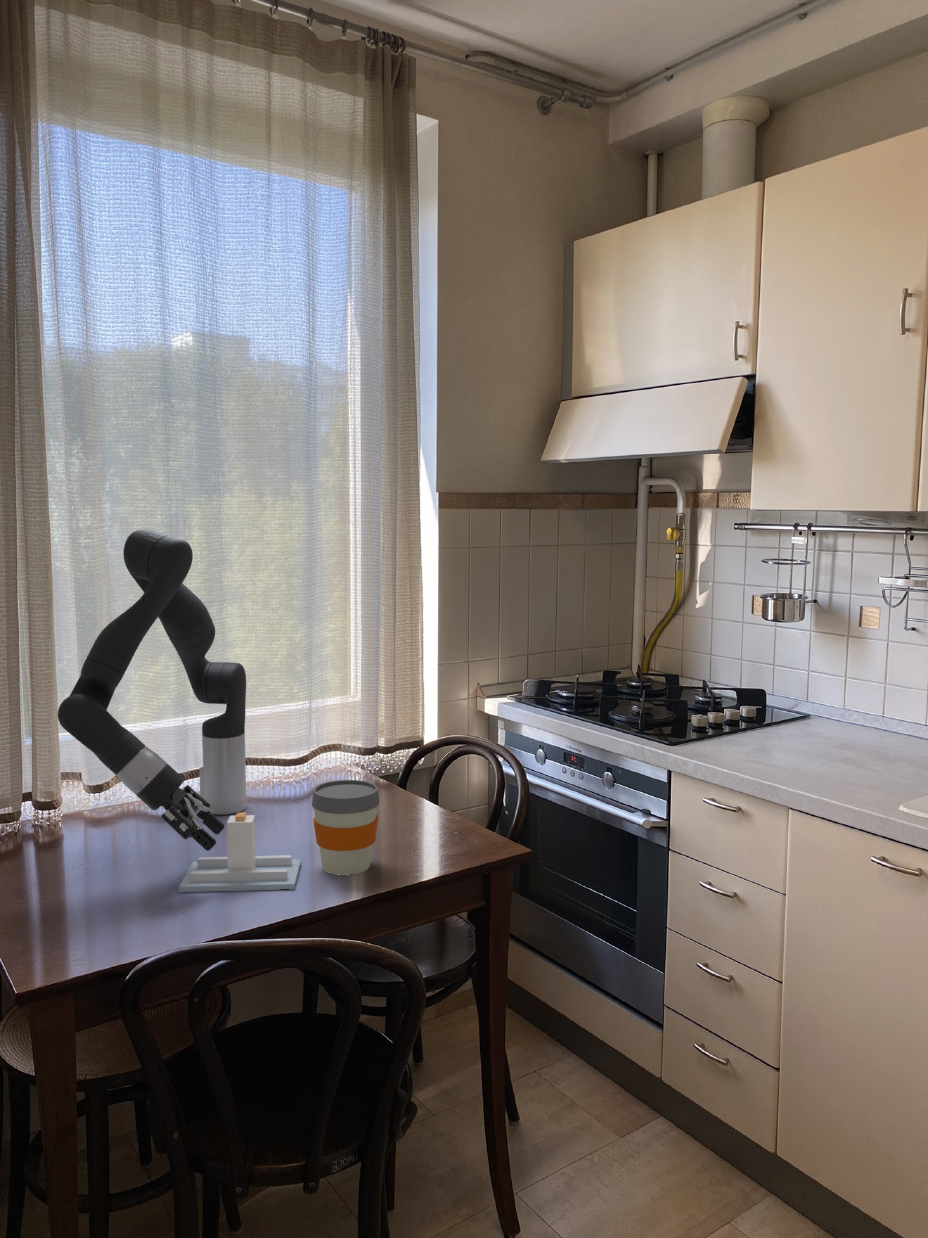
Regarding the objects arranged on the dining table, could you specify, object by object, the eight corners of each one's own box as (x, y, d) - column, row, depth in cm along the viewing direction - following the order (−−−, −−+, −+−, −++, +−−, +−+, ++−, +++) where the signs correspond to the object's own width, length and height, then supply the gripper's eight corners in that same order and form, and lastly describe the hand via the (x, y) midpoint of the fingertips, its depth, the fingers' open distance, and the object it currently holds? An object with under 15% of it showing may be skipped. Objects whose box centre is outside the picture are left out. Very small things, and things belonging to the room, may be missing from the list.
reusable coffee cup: (391, 870, 171) (391, 792, 170) (329, 884, 165) (328, 803, 163) (361, 849, 182) (361, 775, 180) (302, 862, 175) (301, 785, 174)
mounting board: (178, 892, 161) (178, 878, 161) (193, 866, 173) (192, 853, 172) (294, 889, 162) (294, 875, 162) (300, 863, 174) (300, 851, 174)
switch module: (227, 876, 165) (226, 818, 164) (231, 868, 169) (230, 811, 168) (252, 875, 166) (251, 817, 165) (255, 867, 170) (254, 810, 168)
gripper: (155, 773, 157) (225, 837, 159) (174, 753, 171) (238, 811, 173) (124, 804, 157) (194, 867, 159) (145, 781, 171) (209, 839, 173)
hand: (217, 838), depth 166 cm, fingers open, 8 cm apart
